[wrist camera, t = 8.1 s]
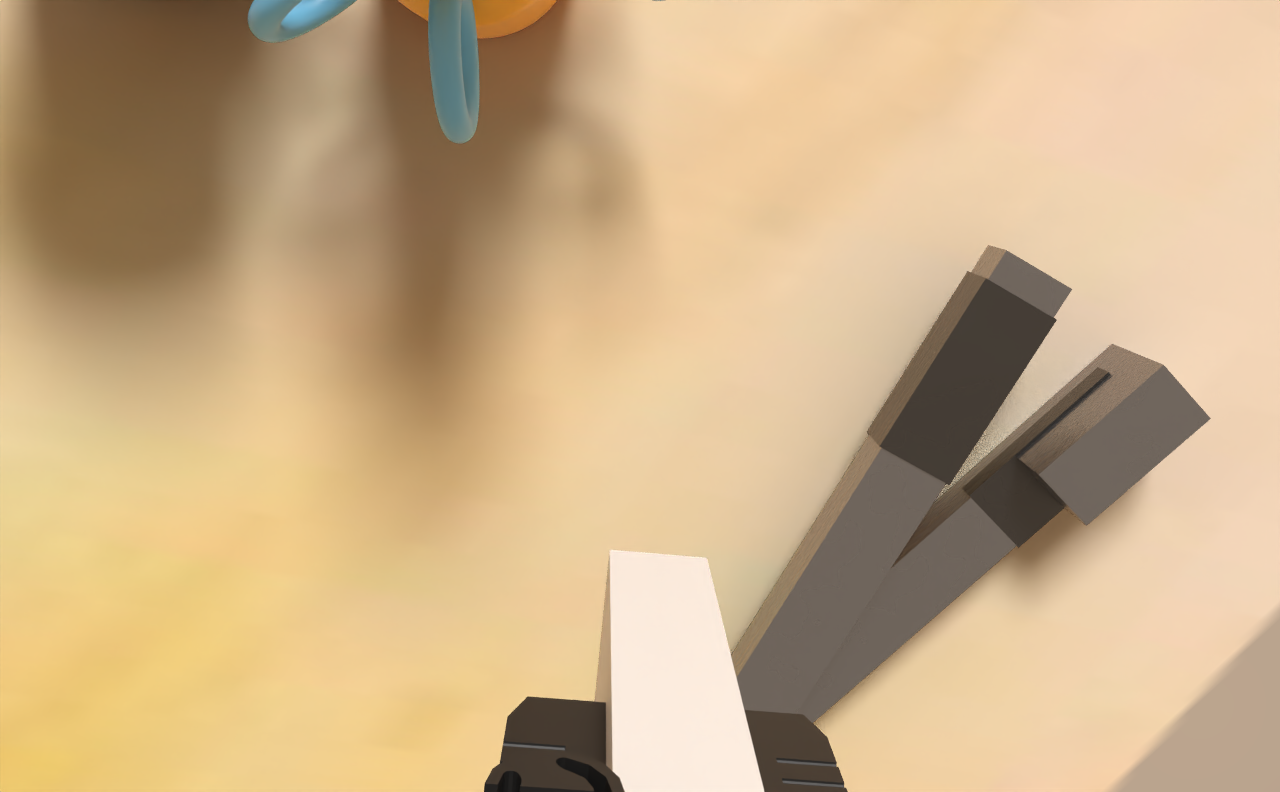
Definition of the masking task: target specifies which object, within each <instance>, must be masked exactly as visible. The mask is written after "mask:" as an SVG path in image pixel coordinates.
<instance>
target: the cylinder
mask: <svg viewBox="0 0 1280 792" xmlns="http://www.w3.org/2000/svg"><path fill="white" fill-rule="evenodd" d="M355 1H357V0H254V1H253V3H252V5H251V7H250V9H249V13H248V25H249V28H250V30H251V32H252V33H253V34H254V36H256V37H257V38H258V39H260V40H262V41H265V42H269V43H277V42H283V41H287V40H290V39H293V38H296V37H298V36H300V35H303V34H305V33H307V32H309V31H311V30H313V29H315V28H317V27H318V26H320V25H322V24H324V23H325V22H327V21H328V20H330V19H332V18H333V17H335V16H336V15H338V14H339V13H341V12H342V11H343V10H345V9H346V8H348V7H349V6H350V5H352V4H353V3H354V2H355ZM398 1H399V2H400V3H401V4H402V5H404V6H405V7H406V8H408V9H409V10H411V11H412V12H414V13H415V14H417V15H419V16H420V17H422V18H423V19H425V20H426V21H428V42H429V61H430V73H431V82H432V90H433V97H434V103H435V108H436V113H437V117H438V121H439V124H440V127H441V129H442V131H443V133H444V135H445V136H446V137H447V138H448V139H449V140H450V141H452V142H454V143H465V142H467V141H469V140H470V139H471V138H472V137H473V135H474V133H475V131H476V128H477V123H478V115H479V94H480V83H479V56H478V42H477V38H495V37H502V36H506V35H509V34H512V33H515V32H518V31H520V30H522V29H524V28H526V27H528V26H529V25H531V24H533V23H534V22H536V21H537V20H538V19H540V18H541V17H542V16H543V15H544V14H545V13H546V12H548V11H549V10H550V8H551V7H552V6H553V5H554V4H555V2H556V1H557V0H398ZM654 1H664V0H654Z"/></svg>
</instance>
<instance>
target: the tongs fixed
mask: <svg viewBox="0 0 1280 792" xmlns="http://www.w3.org/2000/svg"><path fill="white" fill-rule="evenodd" d="M1210 419H1211V418H1210V417H1209V416H1208V415H1207V414H1206V413H1205V412H1204V410H1203V409H1202V408H1201V407H1200V406H1199V405H1198V404H1197V402H1196V401H1195V400H1194V399H1193V398H1192V397H1191V396H1190V395H1189V393H1188V392H1187V391H1186V390H1185V389H1184V388H1183V387H1182V385H1181V384H1180V383H1179V382H1178V381H1177V380H1176V379H1175V377H1174V376H1173V375H1172V374H1171V373H1170V372H1169V371H1168V369H1167V368H1166V367H1165V366H1164V365H1163V364H1160V363H1158V362H1155V361H1153V360H1150V359H1148V358H1145V357H1143V356H1141V355H1138V354H1136V353H1133V352H1131V351H1128V350H1126V349H1123V348H1121V347H1119V346H1116V345H1114V344H1112V345H1111V346H1109V347H1108V348H1107V349H1106V350H1105V351H1104V352H1103V353H1102V354H1100V355H1099V356H1098V357H1097V358H1096V359H1095V360H1094V361H1093V362H1091V363H1090V364H1089V365H1088V366H1087V367H1086V368H1085V369H1084V370H1082V371H1081V372H1080V373H1079V374H1078V375H1077V376H1076V377H1075V378H1073V379H1072V380H1071V381H1070V382H1069V383H1068V384H1067V385H1066V386H1064V387H1063V388H1062V389H1061V390H1060V391H1059V392H1058V393H1057V394H1055V395H1054V396H1053V397H1052V398H1051V399H1050V400H1049V401H1048V402H1046V403H1045V404H1044V405H1043V406H1042V407H1041V408H1040V409H1039V410H1037V411H1036V412H1035V413H1034V414H1033V415H1032V416H1031V417H1030V418H1028V419H1027V420H1026V421H1025V422H1024V423H1023V424H1022V425H1021V426H1019V427H1018V428H1017V429H1016V430H1015V431H1014V432H1013V433H1012V434H1011V435H1009V436H1008V437H1007V438H1006V439H1005V440H1004V441H1003V442H1002V443H1000V444H999V445H998V446H997V447H996V448H995V449H994V450H993V451H991V452H990V453H989V454H988V455H987V456H986V457H985V458H984V459H982V460H981V461H980V462H979V463H978V464H977V465H976V466H975V467H973V468H972V469H971V470H970V471H969V472H968V473H967V474H966V475H964V476H963V477H962V478H961V479H960V480H959V481H958V482H957V483H955V484H954V485H953V486H952V487H951V488H950V489H949V490H948V491H946V492H945V493H944V494H943V495H942V496H941V497H940V498H939V499H937V500H936V501H935V502H934V503H933V504H932V506H931V507H930V509H929V510H928V512H927V513H926V515H925V516H924V518H923V519H922V521H921V523H920V524H919V526H918V527H917V529H916V530H915V532H914V533H913V535H912V536H911V538H910V539H909V541H908V543H907V544H906V546H905V547H904V549H903V550H902V552H901V553H900V555H899V556H898V558H897V559H896V561H895V563H894V564H893V566H892V567H891V569H890V570H889V572H888V573H887V575H886V576H885V578H884V579H883V581H882V583H881V584H880V586H879V587H878V589H877V590H876V592H875V593H874V595H873V596H872V598H871V599H870V601H869V603H868V604H867V606H866V607H865V609H864V610H863V612H862V613H861V615H860V616H859V618H858V620H857V621H856V623H855V624H854V626H853V627H852V629H851V630H850V632H849V633H848V635H847V636H846V638H845V640H844V641H843V643H842V644H841V646H840V647H839V649H838V650H837V652H836V653H835V655H834V656H833V658H832V660H831V661H830V663H829V664H828V666H827V667H826V669H825V670H824V672H823V673H822V675H821V676H820V678H819V680H818V681H817V683H816V684H815V686H814V687H813V689H812V690H811V692H810V693H809V695H808V696H807V698H806V700H805V701H804V703H803V704H802V706H801V707H800V709H799V710H798V712H797V713H796V714H803V715H804V716H805V717H806V718H807V719H809V720H810V721H811V722H812V723H813V722H814V721H816V720H817V719H818V718H819V717H820V716H821V715H822V714H824V713H825V712H826V711H827V710H828V709H829V708H831V707H832V706H833V705H834V704H835V703H836V702H837V701H839V700H840V699H841V698H842V697H843V696H844V695H845V694H847V693H848V692H849V691H850V690H851V689H852V688H854V687H855V686H856V685H857V684H858V683H859V682H860V681H862V680H863V679H864V678H865V677H866V676H867V675H868V674H870V673H871V672H872V671H873V670H874V669H875V668H877V667H878V666H879V665H880V664H881V663H882V662H883V661H885V660H886V659H887V658H888V657H889V656H890V655H891V654H893V653H894V652H895V651H896V650H897V649H898V648H900V647H901V646H902V645H903V644H904V643H905V642H906V641H908V640H909V639H910V638H911V637H912V636H913V635H914V634H916V633H917V632H918V631H919V630H920V629H921V628H923V627H924V626H925V625H926V624H927V623H928V622H929V621H931V620H932V619H933V618H934V617H935V616H936V615H937V614H939V613H940V612H941V611H942V610H943V609H944V608H946V607H947V606H948V605H949V604H950V603H951V602H952V601H954V600H955V599H956V598H957V597H958V596H959V595H960V594H962V593H963V592H964V591H965V590H966V589H967V588H968V587H970V586H971V585H972V584H973V583H974V582H975V581H977V580H978V579H979V578H980V577H981V576H982V575H983V574H985V573H986V572H987V571H988V570H989V569H990V568H991V567H993V566H994V565H995V564H996V563H997V562H998V561H1000V560H1001V559H1002V558H1003V557H1004V556H1005V555H1006V554H1008V553H1009V552H1010V551H1011V550H1012V549H1013V548H1014V547H1016V546H1017V547H1018V548H1019V547H1020V546H1021V545H1022V544H1023V543H1024V542H1026V541H1027V540H1028V539H1029V538H1030V537H1031V536H1032V535H1034V534H1035V533H1036V532H1037V531H1038V530H1039V529H1040V528H1042V527H1043V526H1044V525H1045V524H1046V523H1047V522H1049V521H1050V520H1051V519H1052V518H1053V517H1054V516H1055V515H1057V514H1058V513H1059V512H1060V511H1061V510H1062V509H1063V508H1065V509H1067V510H1068V511H1069V512H1070V513H1071V514H1073V515H1074V516H1075V517H1076V518H1078V519H1079V520H1080V521H1081V522H1082V523H1084V524H1085V525H1086V526H1087V525H1088V524H1089V523H1090V522H1091V521H1092V520H1094V519H1095V518H1096V517H1097V516H1098V515H1099V514H1101V513H1102V512H1103V511H1104V510H1105V509H1106V508H1108V507H1109V506H1110V505H1111V504H1112V503H1113V502H1115V501H1116V500H1117V499H1118V498H1119V497H1120V496H1121V495H1123V494H1124V493H1125V492H1126V491H1127V490H1128V489H1130V488H1131V487H1132V486H1133V485H1134V484H1135V483H1137V482H1138V481H1139V480H1140V479H1141V478H1142V477H1143V476H1145V475H1146V474H1147V473H1148V472H1149V471H1150V470H1152V469H1153V468H1154V467H1155V466H1156V465H1157V464H1159V463H1160V462H1161V461H1162V460H1163V459H1164V458H1166V457H1167V456H1168V455H1169V454H1170V453H1171V452H1172V451H1174V450H1175V449H1176V448H1177V447H1178V446H1179V445H1181V444H1182V443H1183V442H1184V441H1185V440H1186V439H1188V438H1189V437H1190V436H1191V435H1192V434H1193V433H1194V432H1196V431H1197V430H1198V429H1199V428H1200V427H1201V426H1203V425H1204V424H1205V423H1206V422H1207V421H1208V420H1210Z"/></svg>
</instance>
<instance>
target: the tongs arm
mask: <svg viewBox="0 0 1280 792" xmlns="http://www.w3.org/2000/svg"><path fill="white" fill-rule="evenodd" d="M1071 290H1072V289H1071V288H1069V287H1067V286H1066V285H1064V284H1062V283H1061V282H1059V281H1057V280H1056V279H1054V278H1052V277H1051V276H1049V275H1047V274H1046V273H1044V272H1042V271H1040V270H1039V269H1037V268H1035V267H1034V266H1032V265H1030V264H1029V263H1027V262H1025V261H1024V260H1022V259H1020V258H1019V257H1017V256H1015V255H1014V254H1012V253H1010V252H1008V251H1007V250H1004V249H1000V248H996V247H993V246H989V245H988V246H987V248H986V250H985V251H984V253H983V254H982V256H981V258H980V259H979V261H978V262H977V264H976V265H975V267H974V269H973V270H972V272H968V271H967V273H966V275H965V276H964V278H963V279H962V281H961V283H960V284H959V286H958V287H957V289H956V291H955V292H954V294H953V295H952V297H951V299H950V300H949V302H948V303H947V305H946V307H945V308H944V310H943V311H942V313H941V315H940V316H939V318H938V319H937V321H936V323H935V324H934V326H933V327H932V329H931V331H930V332H929V334H928V335H927V337H926V339H925V340H924V342H923V343H922V345H921V347H920V348H919V350H918V351H917V353H916V354H915V356H914V358H913V359H912V361H911V362H910V364H909V366H908V367H907V369H906V370H905V372H904V374H903V375H902V377H901V378H900V380H899V382H898V383H897V385H896V386H895V388H894V390H893V391H892V393H891V394H890V396H889V398H888V399H887V401H886V402H885V404H884V406H883V407H882V409H881V410H880V412H879V414H878V415H877V417H876V418H875V420H874V422H873V423H872V425H871V426H870V428H869V430H868V431H867V433H868V434H869V436H868V438H867V439H866V441H865V442H864V444H863V446H862V447H861V449H860V450H859V452H858V454H857V455H856V457H855V458H854V460H853V462H852V463H851V465H850V466H849V468H848V470H847V471H846V473H845V474H844V476H843V477H842V479H841V481H840V482H839V484H838V485H837V487H836V489H835V490H834V492H833V493H832V495H831V497H830V498H829V500H828V501H827V503H826V505H825V506H824V508H823V509H822V511H821V513H820V514H819V516H818V517H817V519H816V521H815V522H814V524H813V525H812V527H811V528H810V530H809V532H808V533H807V535H806V536H805V538H804V540H803V541H802V543H801V544H800V546H799V548H798V549H797V551H796V552H795V554H794V556H793V557H792V559H791V560H790V562H789V564H788V565H787V567H786V568H785V570H784V572H783V573H782V575H781V576H780V578H779V580H778V581H777V583H776V584H775V586H774V587H773V589H772V591H771V592H770V594H769V595H768V597H767V599H766V600H765V602H764V603H763V605H762V607H761V608H760V610H759V611H758V613H757V615H756V616H755V618H754V619H753V621H752V623H751V624H750V626H749V627H748V629H747V631H746V632H745V634H744V635H743V637H742V638H741V640H740V642H739V643H738V645H737V646H736V648H735V650H734V651H733V653H732V654H731V658H732V662H733V666H734V670H735V674H736V678H737V682H738V686H739V690H740V695H741V699H742V703H743V707H744V710H752V711H765V712H779V713H792V714H796V713H797V712H798V710H799V709H800V707H801V706H802V704H803V703H804V701H805V700H806V698H807V696H808V695H809V693H810V692H811V690H812V689H813V687H814V686H815V684H816V683H817V681H818V680H819V678H820V676H821V675H822V673H823V672H824V670H825V669H826V667H827V666H828V664H829V663H830V661H831V660H832V658H833V656H834V655H835V653H836V652H837V650H838V649H839V647H840V646H841V644H842V643H843V641H844V640H845V638H846V636H847V635H848V633H849V632H850V630H851V629H852V627H853V626H854V624H855V623H856V621H857V620H858V618H859V616H860V615H861V613H862V612H863V610H864V609H865V607H866V606H867V604H868V603H869V601H870V599H871V598H872V596H873V595H874V593H875V592H876V590H877V589H878V587H879V586H880V584H881V583H882V581H883V579H884V578H885V576H886V575H887V573H888V572H889V570H890V569H891V567H892V566H893V564H894V563H895V561H896V559H897V558H898V556H899V555H900V553H901V552H902V550H903V549H904V547H905V546H906V544H907V543H908V541H909V539H910V538H911V536H912V535H913V533H914V532H915V530H916V529H917V527H918V526H919V524H920V523H921V521H922V519H923V518H924V516H925V515H926V513H927V512H928V510H929V509H930V507H931V506H932V504H933V503H934V501H935V499H936V498H937V496H938V495H939V493H940V492H941V490H942V489H943V487H944V486H945V484H948V485H950V483H951V482H952V480H953V479H954V477H955V475H956V474H957V472H958V471H959V469H960V468H961V466H962V465H963V463H964V462H965V460H966V459H967V457H968V455H969V454H970V452H971V451H972V449H973V448H974V446H975V445H976V443H977V442H978V440H979V439H980V437H981V436H982V434H983V432H984V431H985V429H986V428H987V426H988V425H989V423H990V422H991V420H992V419H993V417H994V416H995V414H996V412H997V411H998V409H999V408H1000V406H1001V405H1002V403H1003V402H1004V400H1005V399H1006V397H1007V396H1008V394H1009V392H1010V391H1011V389H1012V388H1013V386H1014V385H1015V383H1016V382H1017V380H1018V379H1019V377H1020V376H1021V374H1022V373H1023V371H1024V369H1025V368H1026V366H1027V365H1028V363H1029V362H1030V360H1031V359H1032V357H1033V356H1034V354H1035V353H1036V351H1037V349H1038V348H1039V346H1040V345H1041V343H1042V342H1043V340H1044V339H1045V337H1046V336H1047V334H1048V333H1049V331H1050V329H1051V328H1052V326H1053V325H1054V323H1055V322H1056V319H1055V318H1054V316H1055V315H1056V313H1057V312H1058V310H1059V309H1060V307H1061V306H1062V304H1063V302H1064V301H1065V299H1066V298H1067V296H1068V295H1069V293H1070V292H1071Z"/></svg>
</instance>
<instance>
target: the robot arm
mask: <svg viewBox="0 0 1280 792" xmlns="http://www.w3.org/2000/svg"><path fill="white" fill-rule="evenodd" d="M484 792H847V789H846V788H844V781H843V778H842V776H841V773H840V770H839V768H838V767H836V760H835V757H834V754H833V752H832V749H831V746H830V744H829V741H828V738H827V737H826V736H825V735H824V734H823V733H822V732H821V731H820V730H819V729H818V728H817V727H816V726H815V725H814V724H813V723H812V722H811V721H810V720H809V719H807V718H806V717H805V716H804V715H803V714H792V713H779V712H765V711H752V710H744V707H743V703H742V699H741V695H740V690H739V686H738V682H737V678H736V674H735V670H734V666H733V662H732V658H731V654H730V650H729V646H728V642H727V638H726V634H725V629H724V625H723V621H722V617H721V613H720V609H719V605H718V601H717V597H716V593H715V589H714V585H713V581H712V577H711V573H710V568H709V564H708V560H707V558H704V557H692V556H680V555H667V554H655V553H643V552H631V551H619V550H610V552H609V562H608V572H607V582H606V592H605V602H604V612H603V622H602V632H601V642H600V652H599V662H598V672H597V682H596V692H595V702H593V701H579V700H566V699H553V698H539V697H527V698H526V699H525V700H524V701H523V702H522V703H521V704H520V705H519V706H518V707H517V708H516V709H515V710H514V711H513V712H512V713H511V714H510V715H509V716H508V718H507V724H506V730H505V736H504V742H503V748H502V754H501V760H500V764H499V765H497V766H496V767H494V768H493V769H492V771H491V773H490V775H489V777H488V778H487V780H486V782H485V787H484Z"/></svg>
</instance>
